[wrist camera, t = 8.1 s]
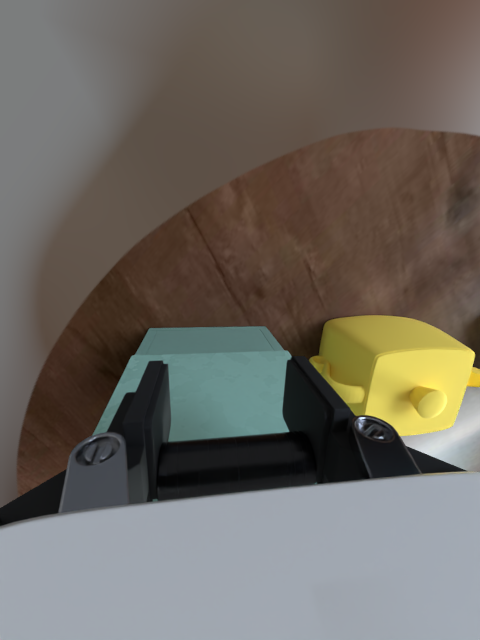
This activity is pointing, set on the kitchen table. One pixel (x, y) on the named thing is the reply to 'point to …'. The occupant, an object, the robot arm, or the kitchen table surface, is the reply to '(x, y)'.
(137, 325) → the kitchen table surface
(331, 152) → the kitchen table surface
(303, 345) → the kitchen table surface
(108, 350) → the kitchen table surface
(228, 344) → the open box
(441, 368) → the teapot
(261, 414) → the box lid
